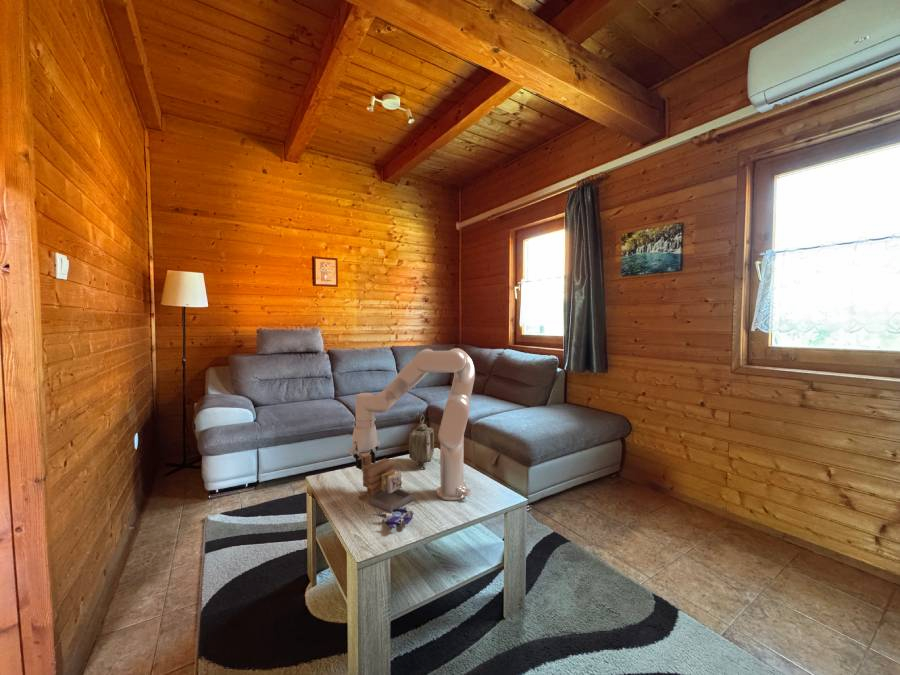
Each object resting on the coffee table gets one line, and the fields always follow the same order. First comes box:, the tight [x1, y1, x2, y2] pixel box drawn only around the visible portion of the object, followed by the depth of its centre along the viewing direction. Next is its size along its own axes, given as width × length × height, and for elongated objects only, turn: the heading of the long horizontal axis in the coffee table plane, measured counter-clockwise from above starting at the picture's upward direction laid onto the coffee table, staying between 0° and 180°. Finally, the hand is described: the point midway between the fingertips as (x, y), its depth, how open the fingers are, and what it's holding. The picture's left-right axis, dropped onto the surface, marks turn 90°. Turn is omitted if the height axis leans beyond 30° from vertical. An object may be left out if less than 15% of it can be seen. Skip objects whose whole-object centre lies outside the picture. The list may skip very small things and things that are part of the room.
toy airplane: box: [371, 506, 414, 529], centre depth 128 cm, size 13×14×4 cm
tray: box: [369, 488, 414, 514], centre depth 143 cm, size 12×12×2 cm
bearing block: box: [357, 457, 395, 504], centre depth 148 cm, size 8×12×14 cm
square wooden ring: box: [387, 471, 402, 493], centre depth 142 cm, size 1×6×6 cm, turn 143°
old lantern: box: [408, 414, 435, 470], centre depth 180 cm, size 14×9×25 cm, turn 168°
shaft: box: [359, 452, 403, 486], centre depth 146 cm, size 22×4×8 cm, turn 53°
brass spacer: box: [381, 469, 396, 491], centre depth 144 cm, size 1×6×6 cm, turn 143°
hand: (365, 465), depth 152 cm, fingers open, 6 cm apart
